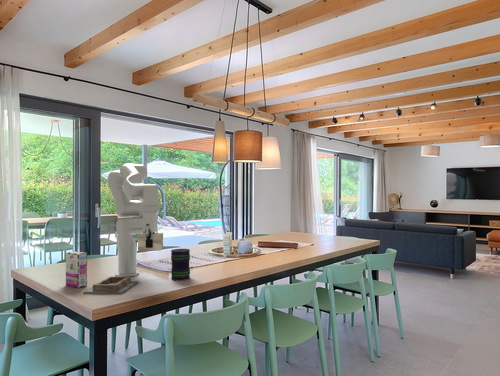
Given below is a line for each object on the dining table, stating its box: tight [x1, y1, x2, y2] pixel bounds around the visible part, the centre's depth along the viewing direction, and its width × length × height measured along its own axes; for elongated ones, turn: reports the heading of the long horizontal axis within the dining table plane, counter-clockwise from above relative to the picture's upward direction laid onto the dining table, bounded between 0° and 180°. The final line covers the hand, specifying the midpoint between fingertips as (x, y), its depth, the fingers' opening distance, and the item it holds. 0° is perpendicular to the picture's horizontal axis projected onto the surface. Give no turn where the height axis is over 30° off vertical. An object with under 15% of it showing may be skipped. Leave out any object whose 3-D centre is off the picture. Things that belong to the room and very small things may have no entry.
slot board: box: [83, 275, 140, 295], centre depth 172 cm, size 20×18×4 cm
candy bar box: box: [65, 250, 88, 289], centre depth 177 cm, size 11×5×16 cm, turn 56°
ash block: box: [137, 232, 164, 252], centre depth 175 cm, size 4×11×8 cm, turn 91°
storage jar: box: [170, 248, 191, 282], centre depth 190 cm, size 10×10×15 cm
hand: (150, 246), depth 175 cm, fingers closed on ash block, 4 cm apart
